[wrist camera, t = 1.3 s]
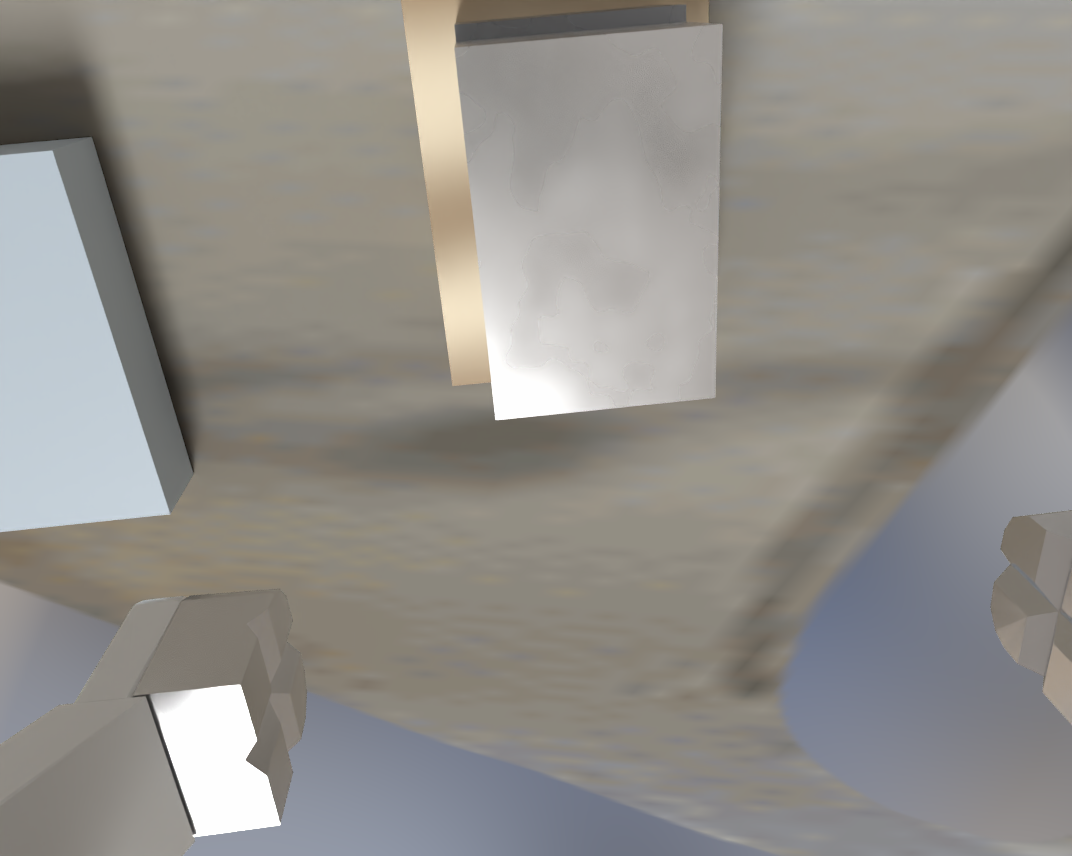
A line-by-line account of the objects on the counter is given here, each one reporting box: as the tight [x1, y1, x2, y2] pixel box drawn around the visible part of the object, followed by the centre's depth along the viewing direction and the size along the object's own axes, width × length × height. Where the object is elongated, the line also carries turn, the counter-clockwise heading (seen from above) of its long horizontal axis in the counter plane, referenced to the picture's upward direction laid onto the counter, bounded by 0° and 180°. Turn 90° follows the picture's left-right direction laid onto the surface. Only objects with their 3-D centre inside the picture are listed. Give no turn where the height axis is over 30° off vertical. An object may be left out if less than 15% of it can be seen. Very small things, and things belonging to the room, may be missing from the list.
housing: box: [454, 4, 723, 420], centre depth 24 cm, size 10×6×7 cm, turn 4°
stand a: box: [401, 0, 709, 386], centre depth 28 cm, size 13×9×3 cm
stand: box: [0, 137, 193, 532], centre depth 30 cm, size 13×9×3 cm
